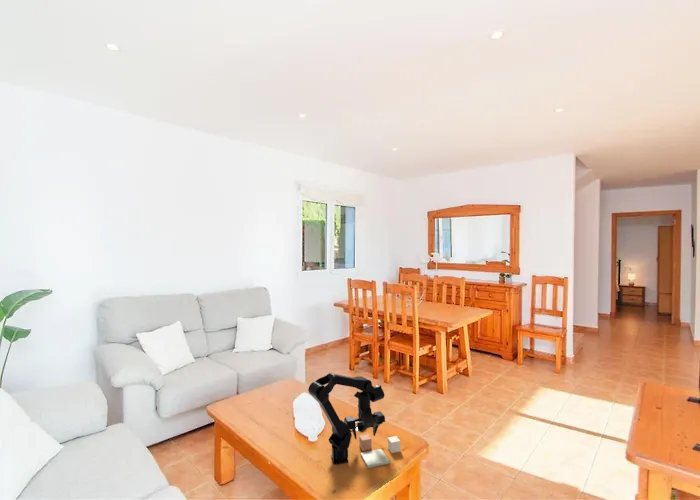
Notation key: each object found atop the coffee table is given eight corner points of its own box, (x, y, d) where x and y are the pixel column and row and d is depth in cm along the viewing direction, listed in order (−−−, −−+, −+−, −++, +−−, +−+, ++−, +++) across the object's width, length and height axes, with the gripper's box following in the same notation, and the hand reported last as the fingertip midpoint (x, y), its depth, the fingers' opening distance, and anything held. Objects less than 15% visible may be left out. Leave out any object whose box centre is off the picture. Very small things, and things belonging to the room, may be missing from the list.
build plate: (367, 468, 157) (367, 465, 157) (360, 454, 166) (360, 452, 166) (389, 463, 160) (389, 461, 160) (381, 450, 169) (381, 448, 169)
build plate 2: (361, 435, 184) (361, 426, 184) (349, 431, 188) (349, 422, 188) (373, 423, 195) (372, 415, 195) (361, 420, 199) (360, 412, 199)
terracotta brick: (362, 451, 170) (362, 440, 169) (359, 445, 174) (359, 435, 174) (371, 449, 171) (371, 438, 171) (368, 444, 175) (368, 433, 175)
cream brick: (391, 453, 167) (391, 442, 167) (387, 448, 172) (387, 437, 171) (400, 451, 168) (400, 440, 168) (396, 446, 173) (396, 435, 173)
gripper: (350, 415, 161) (350, 450, 162) (389, 409, 167) (390, 442, 167) (343, 404, 172) (344, 437, 172) (380, 399, 177) (381, 430, 178)
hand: (365, 437), depth 172 cm, fingers open, 9 cm apart
